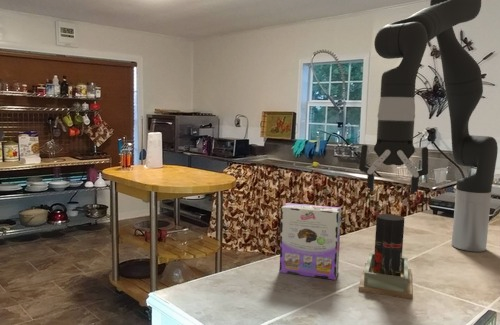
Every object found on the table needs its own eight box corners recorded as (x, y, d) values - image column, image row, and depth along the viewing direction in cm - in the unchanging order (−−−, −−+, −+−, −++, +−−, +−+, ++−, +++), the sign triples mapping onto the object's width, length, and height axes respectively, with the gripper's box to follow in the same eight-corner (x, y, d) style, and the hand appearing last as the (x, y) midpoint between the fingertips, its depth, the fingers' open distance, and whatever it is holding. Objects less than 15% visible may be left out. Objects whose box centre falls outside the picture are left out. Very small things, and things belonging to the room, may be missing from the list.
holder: (364, 266, 109) (365, 251, 109) (410, 273, 106) (411, 257, 105) (358, 290, 94) (359, 273, 94) (411, 299, 91) (413, 280, 90)
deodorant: (401, 288, 94) (406, 221, 92) (373, 285, 95) (377, 219, 93) (398, 278, 100) (402, 214, 98) (371, 275, 101) (375, 213, 99)
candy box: (338, 272, 105) (342, 206, 103) (335, 281, 100) (338, 211, 98) (284, 264, 110) (286, 201, 108) (278, 272, 104) (280, 206, 102)
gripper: (430, 119, 94) (425, 192, 96) (363, 117, 99) (360, 187, 101) (432, 119, 87) (427, 198, 89) (360, 118, 92) (356, 192, 94)
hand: (391, 192), depth 95 cm, fingers open, 8 cm apart
